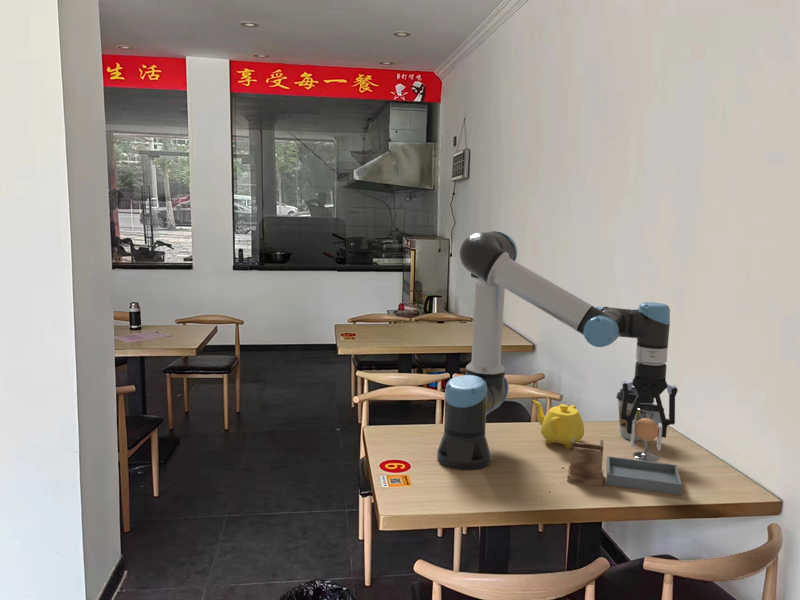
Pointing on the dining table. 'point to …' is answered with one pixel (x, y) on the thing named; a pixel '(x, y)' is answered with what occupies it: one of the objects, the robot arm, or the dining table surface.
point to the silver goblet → (652, 413)
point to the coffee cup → (631, 400)
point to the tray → (643, 475)
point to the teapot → (560, 424)
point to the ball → (646, 429)
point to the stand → (586, 463)
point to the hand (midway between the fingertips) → (645, 446)
